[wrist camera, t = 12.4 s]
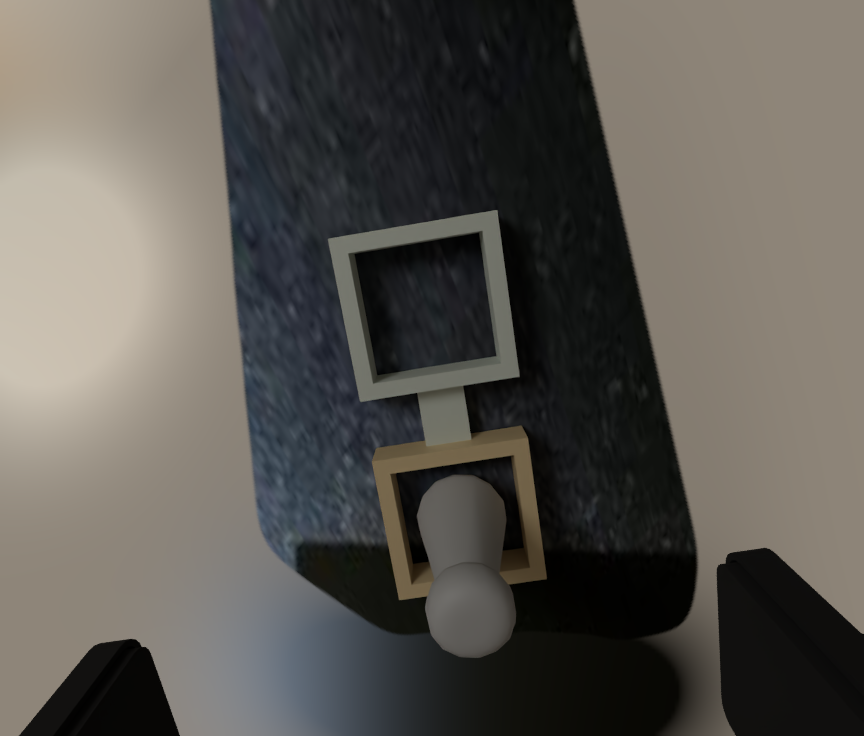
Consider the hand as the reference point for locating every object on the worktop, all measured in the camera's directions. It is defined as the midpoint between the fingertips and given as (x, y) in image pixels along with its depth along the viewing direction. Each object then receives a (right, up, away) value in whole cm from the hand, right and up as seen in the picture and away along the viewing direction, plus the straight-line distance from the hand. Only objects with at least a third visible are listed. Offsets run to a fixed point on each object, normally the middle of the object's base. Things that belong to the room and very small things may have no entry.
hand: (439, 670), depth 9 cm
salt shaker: (+2, -4, +29) cm, 29 cm away
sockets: (+1, +2, +27) cm, 27 cm away
